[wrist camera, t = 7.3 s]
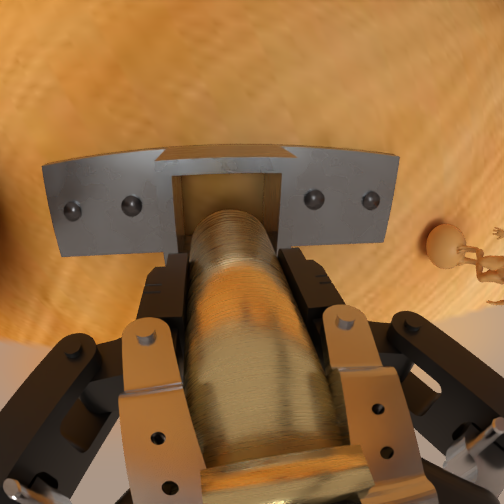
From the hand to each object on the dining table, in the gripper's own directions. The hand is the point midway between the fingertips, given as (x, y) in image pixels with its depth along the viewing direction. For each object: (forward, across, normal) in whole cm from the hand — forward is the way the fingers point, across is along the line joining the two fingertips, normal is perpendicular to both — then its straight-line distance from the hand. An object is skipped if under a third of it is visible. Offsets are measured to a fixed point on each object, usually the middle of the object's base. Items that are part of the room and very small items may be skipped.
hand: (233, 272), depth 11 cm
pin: (+2, 0, 0) cm, 2 cm away
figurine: (+9, -20, +3) cm, 22 cm away
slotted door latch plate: (+9, 0, 0) cm, 9 cm away
